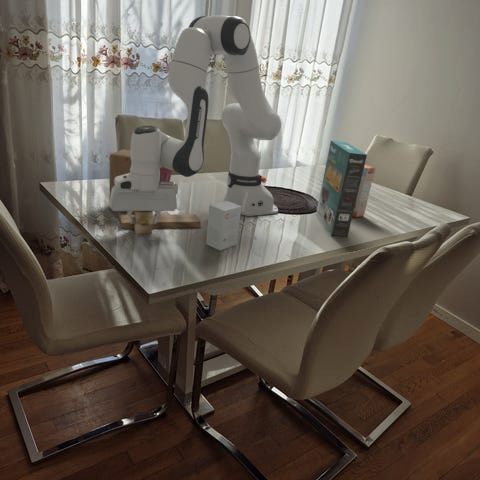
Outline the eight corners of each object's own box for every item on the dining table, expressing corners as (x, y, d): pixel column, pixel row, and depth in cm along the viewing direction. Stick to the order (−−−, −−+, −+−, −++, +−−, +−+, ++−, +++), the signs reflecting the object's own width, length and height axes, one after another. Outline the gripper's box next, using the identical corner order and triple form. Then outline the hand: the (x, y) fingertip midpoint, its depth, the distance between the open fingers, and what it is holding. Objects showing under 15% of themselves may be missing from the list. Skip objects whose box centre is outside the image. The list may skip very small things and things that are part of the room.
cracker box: (364, 216, 178) (376, 167, 170) (355, 218, 174) (367, 168, 166) (338, 205, 187) (348, 158, 179) (329, 207, 184) (339, 159, 176)
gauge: (147, 222, 142) (148, 203, 139) (152, 233, 135) (152, 212, 132) (132, 223, 140) (132, 203, 138) (135, 233, 133) (136, 212, 130)
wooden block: (135, 214, 148) (136, 158, 140) (108, 209, 149) (108, 153, 141) (146, 206, 157) (148, 152, 149) (121, 202, 158) (121, 148, 150)
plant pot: (170, 196, 171) (172, 165, 166) (135, 192, 171) (136, 160, 166) (175, 186, 184) (177, 157, 179) (143, 182, 184) (144, 153, 179)
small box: (222, 238, 138) (226, 200, 133) (237, 244, 135) (242, 206, 130) (205, 244, 132) (208, 204, 127) (220, 251, 129) (224, 210, 124)
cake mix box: (347, 237, 152) (367, 154, 141) (331, 236, 152) (349, 152, 140) (330, 216, 172) (346, 142, 161) (315, 215, 171) (330, 140, 160)
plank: (195, 219, 151) (195, 214, 150) (200, 227, 145) (201, 221, 144) (119, 220, 141) (119, 214, 141) (121, 228, 135) (121, 222, 135)
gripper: (176, 178, 136) (173, 219, 141) (109, 177, 128) (109, 220, 134) (180, 184, 130) (177, 226, 136) (111, 183, 123) (110, 227, 128)
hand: (143, 223), depth 135 cm, fingers closed on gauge, 5 cm apart
